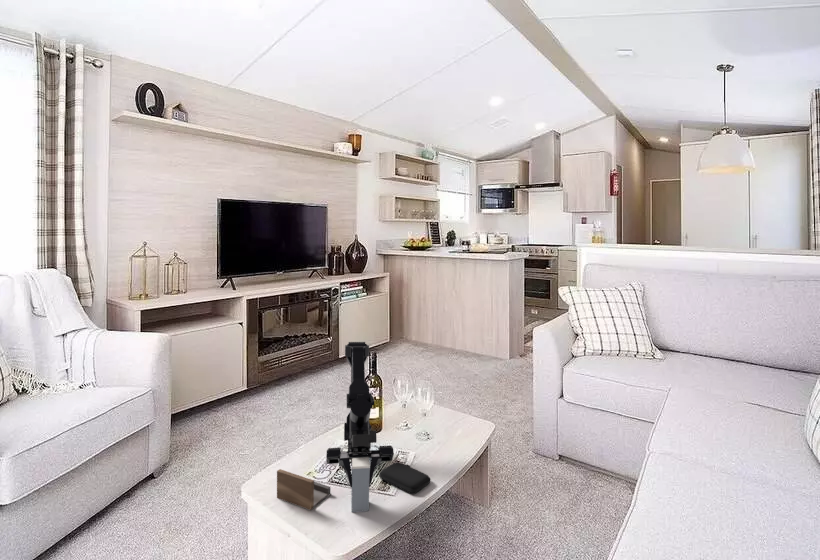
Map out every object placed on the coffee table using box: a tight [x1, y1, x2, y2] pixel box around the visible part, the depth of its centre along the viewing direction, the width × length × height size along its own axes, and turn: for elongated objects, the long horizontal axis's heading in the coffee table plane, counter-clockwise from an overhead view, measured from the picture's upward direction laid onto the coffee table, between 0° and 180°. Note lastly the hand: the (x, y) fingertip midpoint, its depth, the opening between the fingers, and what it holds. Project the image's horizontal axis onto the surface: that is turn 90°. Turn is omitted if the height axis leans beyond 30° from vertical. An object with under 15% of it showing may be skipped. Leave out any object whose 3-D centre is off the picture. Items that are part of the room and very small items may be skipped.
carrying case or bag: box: [378, 461, 431, 495], centre depth 140 cm, size 11×3×15 cm
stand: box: [276, 468, 331, 511], centre depth 130 cm, size 9×12×8 cm
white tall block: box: [350, 457, 370, 513], centre depth 125 cm, size 5×5×13 cm
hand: (360, 486), depth 124 cm, fingers closed on white tall block, 5 cm apart
